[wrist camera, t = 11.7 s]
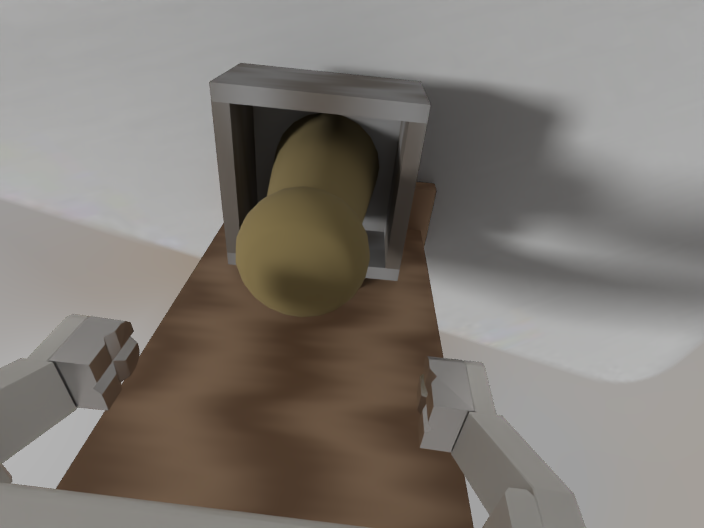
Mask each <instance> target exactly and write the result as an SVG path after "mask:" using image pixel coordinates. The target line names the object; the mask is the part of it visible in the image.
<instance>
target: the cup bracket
mask: <svg viewBox="0 0 704 528" xmlns="http://www.w3.org/2000/svg"><path fill="white" fill-rule="evenodd" d="M209 85H210V95H211V104H212V114H213V123H214V133H215V143H216V152H217V162H218V171H219V181H220V191H221V200H222V210H223V219H224V223H223V225H222V227H221V228H220V230H219V231H218V233H217V234H216V236H215V238H214V239H213V241H212V242H211V244H210V246H209V247H208V249H207V250H206V252H205V253H204V255H203V257H202V258H201V260H200V261H199V263H198V265H197V266H196V268H195V269H194V271H193V273H192V274H191V276H190V277H189V279H188V281H187V282H186V284H185V285H184V287H183V288H182V290H181V291H180V293H179V295H178V296H177V298H176V299H175V301H174V303H173V304H172V306H171V307H170V309H169V311H168V312H167V314H166V315H165V317H164V318H163V320H162V321H161V323H160V325H159V326H158V328H157V329H156V331H155V333H154V334H153V336H152V338H151V339H150V341H149V342H148V344H147V345H146V347H145V348H144V350H143V352H142V353H141V355H140V356H139V360H138V363H137V366H136V368H135V370H134V372H133V373H132V375H131V376H130V377H128V378H127V379H125V380H124V382H123V383H122V385H121V386H122V391H121V392H120V394H119V395H118V397H117V398H116V400H115V401H114V403H113V404H112V406H111V408H110V409H109V410H105V412H104V413H103V415H102V416H101V418H100V420H99V421H98V423H97V424H96V426H95V428H94V429H93V431H92V432H91V434H90V435H89V437H88V439H87V440H86V442H85V444H84V445H83V447H82V448H81V450H80V451H79V453H78V455H77V456H76V458H75V459H74V461H73V462H72V464H71V466H70V467H69V469H68V470H67V472H66V474H65V475H64V477H63V478H62V480H61V481H60V483H59V485H58V486H57V488H56V489H59V490H68V491H76V492H84V493H92V494H100V495H108V496H117V497H125V498H133V499H141V500H149V501H158V502H166V503H174V504H182V505H190V506H199V507H207V508H215V509H223V510H231V511H239V512H248V513H256V514H264V515H272V516H280V517H288V518H296V519H304V520H313V521H321V522H329V523H337V524H345V525H353V526H361V527H369V528H474V527H473V521H472V516H471V510H470V504H469V499H468V493H467V488H466V482H465V476H464V474H463V472H462V471H461V469H460V467H459V466H458V464H457V463H456V461H455V459H454V458H453V456H452V455H451V452H444V451H438V450H431V449H424V448H420V445H419V431H418V424H419V420H420V417H421V414H420V413H419V412H418V411H417V389H418V383H419V378H420V376H421V375H422V374H424V370H423V364H424V361H425V358H426V357H427V356H430V357H439V358H443V353H442V347H441V341H440V336H439V330H438V325H437V319H436V313H435V308H434V302H433V296H432V291H431V285H430V280H429V274H428V268H427V263H426V257H425V252H424V245H425V240H426V236H427V231H428V227H429V222H430V218H431V213H432V209H433V204H434V200H435V195H436V187H435V184H433V183H424V182H416V180H417V175H418V170H419V164H420V159H421V154H422V149H423V143H424V138H425V133H426V127H427V122H428V117H429V112H430V106H431V104H430V102H429V100H428V98H427V95H426V93H425V91H424V88H423V86H422V84H421V82H419V81H410V80H400V79H390V78H381V77H371V76H361V75H352V74H342V73H333V72H323V71H313V70H304V69H294V68H284V67H275V66H265V65H256V64H246V63H240V64H238V65H237V66H235V67H233V68H232V69H230V70H228V71H227V72H225V73H223V74H222V75H220V76H218V77H217V78H215V79H213V80H212V81H210V82H209ZM318 113H329V114H337V115H342V116H345V117H347V118H348V119H350V120H352V121H354V122H356V123H357V124H359V125H360V126H361V127H362V128H363V129H364V130H365V131H366V133H367V134H368V135H369V136H370V137H371V139H372V141H373V143H374V145H375V148H376V150H377V152H378V160H379V172H378V176H377V181H376V185H375V188H374V191H373V194H372V196H371V199H370V202H369V205H368V208H367V211H366V214H365V217H364V220H363V223H362V225H363V227H364V229H365V231H366V233H367V236H368V243H369V250H370V261H369V265H368V269H367V273H366V277H365V279H364V281H363V283H362V285H361V287H360V288H359V289H358V291H357V292H356V294H355V295H354V297H353V298H352V299H350V300H349V301H347V302H346V303H345V304H343V305H342V306H340V307H339V308H337V309H336V310H334V311H332V312H329V313H326V314H323V315H320V316H313V317H297V316H291V315H285V314H282V313H280V312H277V311H275V310H273V309H270V308H268V307H267V306H265V305H264V304H263V303H261V302H260V301H259V300H257V299H256V298H255V297H254V296H253V295H252V293H251V292H250V291H249V290H248V288H247V287H246V286H245V284H244V283H243V281H242V279H241V276H240V273H239V271H238V268H237V265H236V237H237V235H238V232H239V230H240V228H241V225H242V223H243V221H244V219H245V217H246V216H247V214H248V213H249V212H250V211H251V210H252V209H253V208H254V207H255V206H256V205H257V204H258V203H259V202H260V201H261V200H262V199H264V198H265V197H267V193H268V188H269V183H270V178H271V173H272V168H273V163H274V158H275V153H276V149H277V146H278V144H279V142H280V139H281V137H282V135H283V133H284V132H285V131H286V130H287V129H288V128H289V127H290V126H291V125H292V124H293V123H294V122H296V121H297V120H299V119H301V118H303V117H305V116H307V115H310V114H318Z"/></svg>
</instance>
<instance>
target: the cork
mask: <svg viewBox="0 0 704 528" xmlns="http://www.w3.org/2000/svg"><path fill="white" fill-rule="evenodd" d="M378 172H379V160H378V152H377V150H376V148H375V145H374V143H373V141H372V139H371V137H370V136H369V135H368V134H367V133H366V131H365V130H364V129H363V128H362V127H361V126H360V125H359V124H357V123H356V122H354V121H352V120H350V119H348V118H347V117H345V116H342V115H337V114H329V113H318V114H310V115H307V116H305V117H303V118H301V119H299V120H297V121H296V122H294V123H293V124H292V125H291V126H290V127H289V128H288V129H287V130H286V131H285V132H284V133H283V135H282V137H281V139H280V142H279V144H278V146H277V149H276V153H275V158H274V163H273V168H272V173H271V178H270V183H269V188H268V193H267V197H265V198H264V199H262V200H261V201H260V202H259V203H258V204H257V205H256V206H255V207H254V208H253V209H252V210H251V211H250V212H249V213H248V214H247V216H246V217H245V219H244V221H243V223H242V225H241V228H240V230H239V232H238V235H237V237H236V265H237V268H238V271H239V273H240V276H241V279H242V281H243V283H244V284H245V286H246V287H247V288H248V290H249V291H250V292H251V293H252V295H253V296H254V297H255V298H256V299H257V300H259V301H260V302H261V303H263V304H264V305H265V306H267V307H268V308H270V309H273V310H275V311H277V312H280V313H282V314H285V315H291V316H297V317H313V316H320V315H323V314H326V313H329V312H332V311H334V310H336V309H337V308H339V307H340V306H342V305H343V304H345V303H346V302H347V301H349V300H350V299H352V298H353V297H354V295H355V294H356V292H357V291H358V289H359V288H360V287H361V285H362V283H363V281H364V279H365V277H366V273H367V269H368V265H369V261H370V250H369V243H368V236H367V233H366V231H365V229H364V227H363V225H362V223H363V220H364V217H365V214H366V211H367V208H368V205H369V202H370V199H371V196H372V194H373V191H374V188H375V185H376V181H377V176H378Z"/></svg>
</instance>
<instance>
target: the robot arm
mask: <svg viewBox="0 0 704 528" xmlns="http://www.w3.org/2000/svg"><path fill="white" fill-rule="evenodd" d="M133 332H134V330H133V328H132V325H131V323H130V322H127V321H121V320H114V319H107V318H100V317H93V316H84V315H77V314H72V315H69V316H67V317H66V318H65V319H64V320H63V321H62V322H61V323H60V324H59V325H58V326H57V327H56V328H55V329H54V331H52V333H51V334H50V335H49V336H48V337H47V338H46V339H45V340H44V341H43V342H42V343H41V344H40V345H39V346H38V347H37V348H36V349H35V350H34V352H33V353H32V354H31V355H30V356H29V357H28V358H27V359H24V358H20V359H18V360H16V361H14V362H12V363H10V364H8V365H6V366H4V367H2V368H0V528H369V527H361V526H353V525H345V524H337V523H329V522H321V521H313V520H304V519H296V518H288V517H280V516H272V515H264V514H256V513H248V512H239V511H231V510H223V509H215V508H207V507H199V506H190V505H182V504H174V503H166V502H158V501H149V500H141V499H133V498H125V497H117V496H108V495H100V494H92V493H84V492H76V491H68V490H59V489H51V488H43V487H35V486H27V485H18V484H11V482H12V476H11V475H10V473H9V472H8V471H7V470H6V468H5V467H4V466H3V465H2V463H3V462H5V461H6V460H8V459H9V458H10V457H12V456H13V455H14V454H16V453H17V452H18V451H20V450H21V449H23V448H24V447H25V446H27V445H28V444H30V443H31V442H32V441H34V440H35V439H36V438H38V437H39V436H41V435H42V434H43V433H45V432H46V431H47V430H49V429H50V428H51V427H53V426H54V425H56V424H57V423H58V422H60V421H61V420H63V419H64V418H65V417H67V416H68V415H69V414H71V413H72V412H74V411H75V410H76V409H77V408H88V409H98V410H109V409H110V408H111V406H112V404H113V403H114V401H115V400H116V398H117V397H118V395H119V394H120V392H121V391H122V386H121V382H122V381H123V380H125V379H127V378H128V377H130V376H131V375H132V373H133V372H134V370H135V368H136V366H137V363H138V360H139V346H138V343H137V342H136V341H135V340H134V339H133V338H131V337H130V336H131V334H132V333H133ZM423 370H424V374H422V375H421V376H420V378H419V383H418V389H417V411H418V412H419V413H420V414H421V417H420V420H419V424H418V431H419V445H420V448H424V449H431V450H438V451H444V452H451V455H452V456H453V458H454V459H455V461H456V463H457V464H458V466H459V467H460V469H461V471H462V472H463V474H464V475H465V477H466V478H467V480H468V482H469V483H470V485H471V486H472V488H473V490H474V491H475V493H476V494H477V496H478V498H479V499H480V501H481V502H482V504H483V505H484V507H485V508H486V510H487V512H488V513H489V515H490V516H489V518H488V519H487V521H486V523H485V524H484V526H483V528H586V527H585V524H584V521H583V518H582V515H581V512H580V510H579V507H578V504H577V501H576V498H575V496H574V493H573V492H572V491H571V490H570V489H569V488H568V487H567V486H566V485H565V484H564V482H563V481H562V480H561V479H560V478H559V477H558V476H557V475H556V474H555V473H554V472H553V470H552V469H551V468H550V467H549V466H548V465H547V464H546V463H545V462H544V461H543V460H542V459H541V457H540V456H539V455H538V454H537V453H536V452H535V451H534V450H533V449H532V448H531V446H530V445H529V444H528V443H527V442H526V441H525V440H524V439H523V438H522V437H521V436H520V434H519V433H518V432H517V431H516V430H515V429H514V428H513V427H512V426H511V425H510V423H508V421H507V420H506V419H505V418H504V417H503V416H501V415H497V414H496V410H495V406H494V402H493V398H492V394H491V390H490V386H489V382H488V378H487V374H486V370H485V366H484V364H483V363H482V362H474V361H465V360H464V361H463V360H458V359H448V358H439V357H430V356H427V357H426V358H425V361H424V364H423ZM76 407H77V408H76Z"/></svg>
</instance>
